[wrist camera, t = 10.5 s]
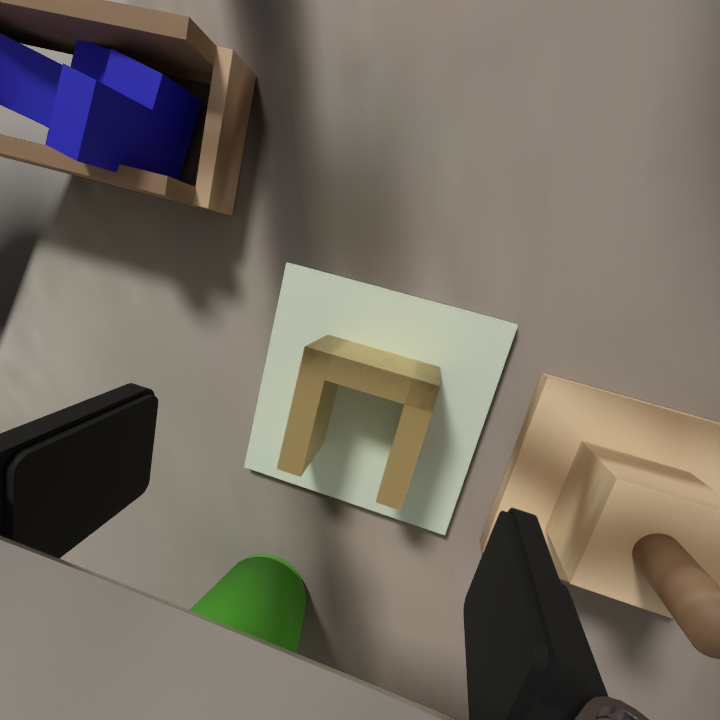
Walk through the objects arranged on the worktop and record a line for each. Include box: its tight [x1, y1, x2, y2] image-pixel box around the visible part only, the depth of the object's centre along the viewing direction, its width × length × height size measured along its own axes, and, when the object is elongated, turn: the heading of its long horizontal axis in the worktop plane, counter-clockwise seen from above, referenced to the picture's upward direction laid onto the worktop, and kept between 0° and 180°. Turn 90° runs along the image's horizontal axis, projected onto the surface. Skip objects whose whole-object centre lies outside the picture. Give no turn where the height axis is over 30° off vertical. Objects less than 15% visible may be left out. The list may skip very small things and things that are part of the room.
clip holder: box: [0, 0, 256, 216], centre depth 20 cm, size 7×17×4 cm, turn 75°
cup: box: [190, 555, 306, 653], centre depth 21 cm, size 9×9×11 cm
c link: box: [277, 335, 440, 511], centre depth 20 cm, size 6×6×4 cm
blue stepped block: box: [0, 33, 203, 180], centre depth 19 cm, size 12×4×6 cm, turn 63°
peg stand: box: [480, 373, 720, 659], centre depth 17 cm, size 10×10×9 cm
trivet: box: [244, 263, 518, 535], centre depth 22 cm, size 12×12×1 cm
